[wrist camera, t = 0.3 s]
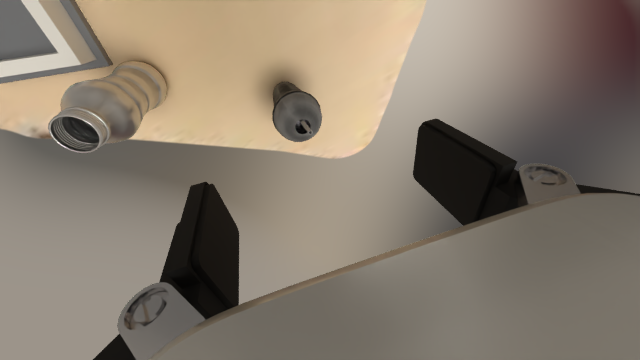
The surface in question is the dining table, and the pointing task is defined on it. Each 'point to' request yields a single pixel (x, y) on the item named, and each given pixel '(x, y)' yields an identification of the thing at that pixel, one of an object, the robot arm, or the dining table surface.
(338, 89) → the dining table surface
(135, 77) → the plastic bottle
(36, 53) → the socket
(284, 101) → the beverage cup
